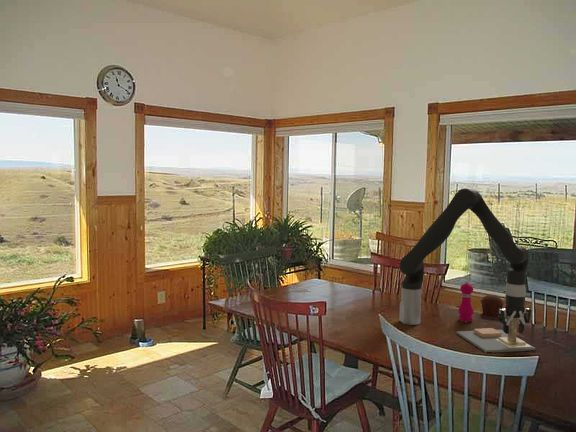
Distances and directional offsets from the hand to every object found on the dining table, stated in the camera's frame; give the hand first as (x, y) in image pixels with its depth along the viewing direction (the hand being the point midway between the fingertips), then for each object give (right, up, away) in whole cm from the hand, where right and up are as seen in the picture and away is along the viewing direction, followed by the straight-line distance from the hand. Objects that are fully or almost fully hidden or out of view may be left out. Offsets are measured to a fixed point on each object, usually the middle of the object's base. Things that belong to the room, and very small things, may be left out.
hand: (513, 332), depth 200 cm
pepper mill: (-7, -3, +37) cm, 37 cm away
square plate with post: (0, -4, +1) cm, 4 cm away
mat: (-6, -5, +6) cm, 10 cm away
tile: (-2, -3, +12) cm, 13 cm away
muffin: (+11, -2, +48) cm, 49 cm away
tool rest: (0, -5, 0) cm, 5 cm away
